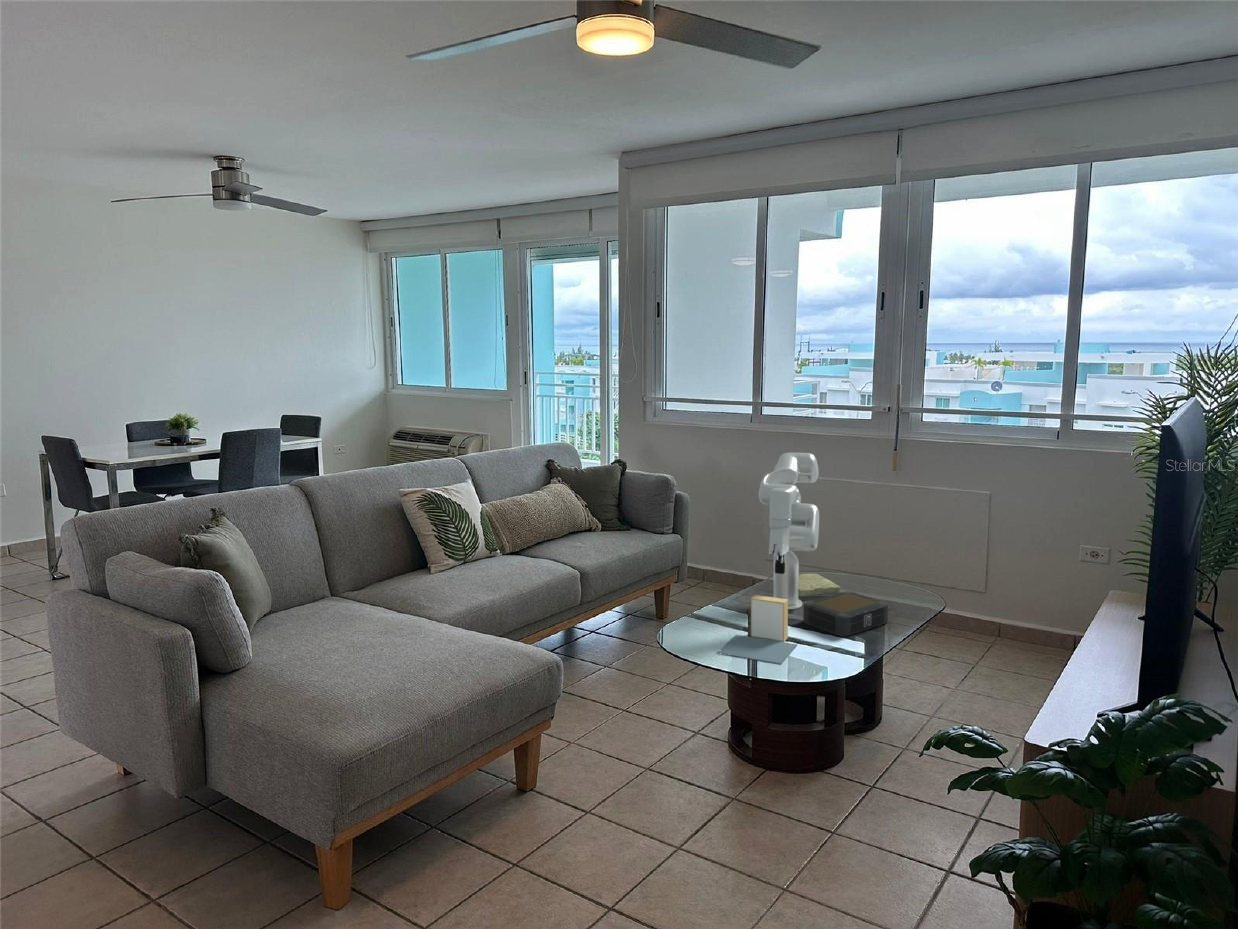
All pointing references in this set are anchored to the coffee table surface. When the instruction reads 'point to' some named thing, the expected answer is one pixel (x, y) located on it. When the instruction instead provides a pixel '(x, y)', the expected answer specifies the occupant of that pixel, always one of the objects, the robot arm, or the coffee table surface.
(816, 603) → the cash box
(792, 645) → the mat
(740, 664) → the coffee table surface
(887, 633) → the coffee table surface
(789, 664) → the coffee table surface
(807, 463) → the robot arm
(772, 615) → the pale yellow block
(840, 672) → the coffee table surface
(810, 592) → the decorative tile
